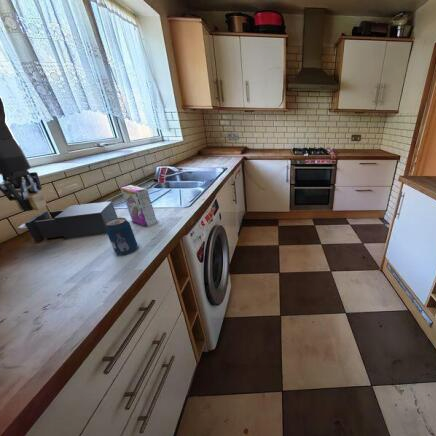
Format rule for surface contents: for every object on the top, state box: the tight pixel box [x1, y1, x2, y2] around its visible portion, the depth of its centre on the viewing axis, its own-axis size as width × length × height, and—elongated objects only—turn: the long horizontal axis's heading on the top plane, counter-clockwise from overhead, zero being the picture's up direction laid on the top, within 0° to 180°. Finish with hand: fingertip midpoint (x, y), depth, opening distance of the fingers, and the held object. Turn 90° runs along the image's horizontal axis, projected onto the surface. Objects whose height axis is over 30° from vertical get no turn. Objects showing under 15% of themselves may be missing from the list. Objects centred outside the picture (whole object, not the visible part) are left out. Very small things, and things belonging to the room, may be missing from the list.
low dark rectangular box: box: [54, 200, 119, 240], centre depth 94 cm, size 15×13×10 cm
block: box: [14, 192, 48, 212], centre depth 74 cm, size 4×4×4 cm
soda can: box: [105, 217, 138, 256], centre depth 79 cm, size 7×7×12 cm
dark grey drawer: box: [16, 209, 65, 242], centre depth 91 cm, size 18×11×8 cm, turn 109°
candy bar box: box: [120, 184, 158, 227], centre depth 98 cm, size 11×5×16 cm, turn 63°
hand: (33, 207), depth 75 cm, fingers closed on block, 4 cm apart
